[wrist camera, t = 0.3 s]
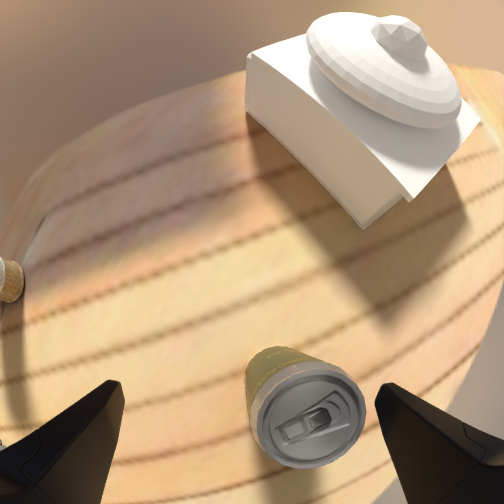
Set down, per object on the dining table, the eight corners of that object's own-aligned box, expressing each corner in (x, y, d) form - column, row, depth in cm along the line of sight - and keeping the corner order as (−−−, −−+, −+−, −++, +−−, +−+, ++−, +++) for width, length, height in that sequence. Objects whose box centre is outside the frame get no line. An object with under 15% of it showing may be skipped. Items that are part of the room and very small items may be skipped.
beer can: (259, 416, 21) (277, 488, 10) (234, 360, 22) (230, 394, 11) (318, 391, 22) (383, 438, 10) (294, 335, 23) (348, 342, 11)
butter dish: (344, 65, 32) (377, -26, 17) (442, 156, 29) (516, 81, 14) (243, 112, 29) (250, -19, 13) (364, 236, 26) (476, 145, 10)
